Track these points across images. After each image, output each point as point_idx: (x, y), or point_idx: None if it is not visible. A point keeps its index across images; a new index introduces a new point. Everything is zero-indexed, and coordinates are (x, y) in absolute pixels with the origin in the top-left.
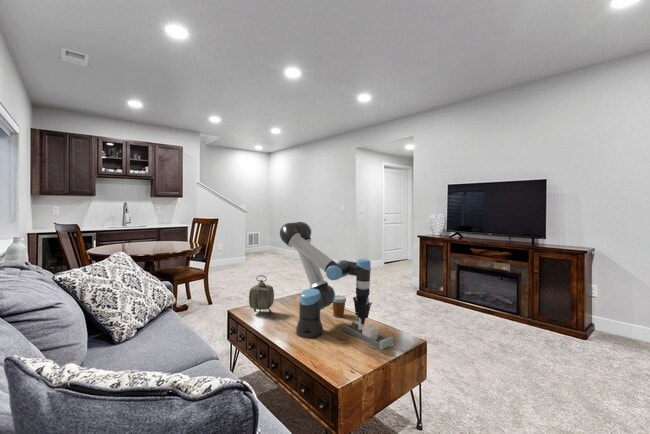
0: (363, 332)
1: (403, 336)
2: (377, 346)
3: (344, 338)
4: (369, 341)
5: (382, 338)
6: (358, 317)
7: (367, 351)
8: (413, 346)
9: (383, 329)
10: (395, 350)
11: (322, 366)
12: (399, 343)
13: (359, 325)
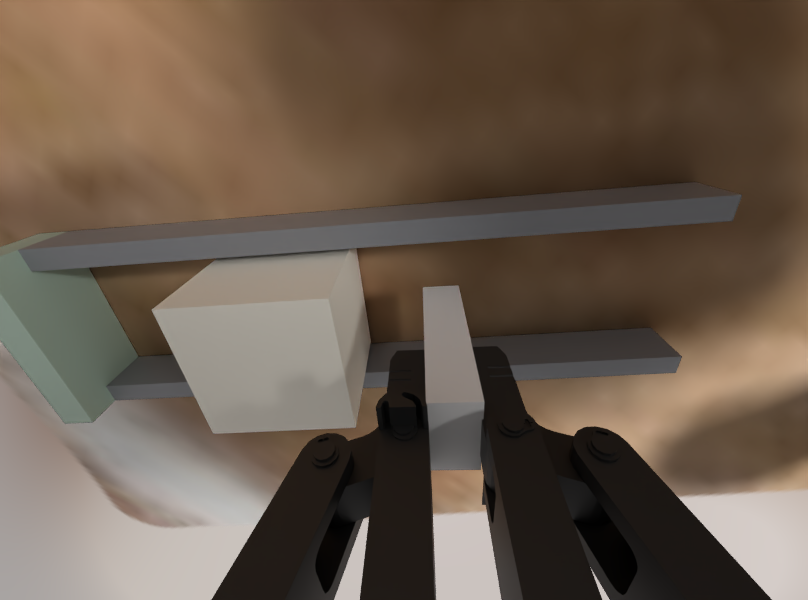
0: (319, 266)
1: (245, 499)
2: (88, 232)
3: (469, 11)
4: (198, 226)
5: None
6: (516, 410)
7: (8, 49)
8: (79, 457)
9: None
10: None
11: None
12: (144, 422)
13: (444, 317)
